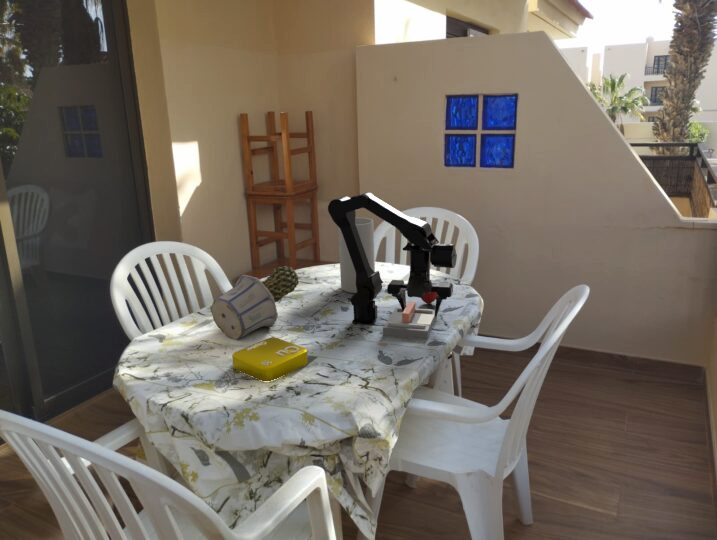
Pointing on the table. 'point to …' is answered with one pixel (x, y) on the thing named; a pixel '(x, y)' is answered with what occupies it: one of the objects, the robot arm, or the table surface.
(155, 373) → the table surface
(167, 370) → the table surface
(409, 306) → the lever
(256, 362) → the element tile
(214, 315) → the potted plant
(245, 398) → the table surface
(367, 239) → the cylinder vase
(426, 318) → the box
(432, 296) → the pomegranate
